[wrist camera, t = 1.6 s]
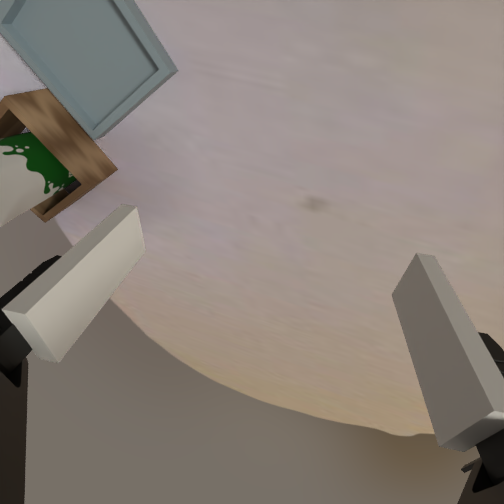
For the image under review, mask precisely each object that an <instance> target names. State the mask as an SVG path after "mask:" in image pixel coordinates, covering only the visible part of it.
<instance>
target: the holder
mask: <svg viewBox="0 0 504 504" xmlns="http://www.w3.org/2000/svg"><path fill="white" fill-rule="evenodd" d="M25 127H27V128H28V129H29V130H30V131H31V132H32V133H33V134H34V135H35V136H36V137H37V138H38V139H39V140H40V142H41V143H42V144H43V145H44V146H45V147H46V148H47V149H48V150H49V151H50V152H51V153H52V154H53V155H54V156H55V157H56V158H57V159H58V160H59V161H60V162H61V163H62V164H63V165H64V166H65V167H66V168H67V169H68V171H69V172H70V173H71V174H72V175H73V176H74V177H75V178H76V179H77V180H78V181H79V182H80V183H81V184H82V185H81V186H79V187H78V188H77V189H76V190H74V191H73V192H72V193H71V194H69V193H68V192H67V191H66V190H65V189H62V190H61V191H59V192H58V193H56V194H54V195H53V196H51V197H49V198H48V199H46V200H44V201H43V202H41V203H39V204H38V205H36V206H34V207H33V208H31V209H30V210H31V211H32V212H34V213H35V214H36V215H37V216H38V217H39V218H40V219H41V220H42V221H44V222H47V221H48V220H50V219H51V218H53V217H54V216H56V215H57V214H58V213H60V212H61V211H63V210H64V209H66V208H67V207H69V206H70V205H72V204H73V203H74V202H76V201H77V200H78V199H80V198H81V197H82V196H84V195H85V194H86V193H88V192H89V191H90V190H92V189H93V188H94V187H95V186H97V185H98V184H99V183H101V182H102V181H103V180H105V179H106V178H107V177H109V176H110V175H111V174H113V173H114V172H115V171H117V170H118V169H117V168H116V167H115V165H114V164H113V163H112V162H111V161H110V160H109V158H108V157H107V156H106V155H105V154H104V153H103V152H102V150H101V149H100V148H99V147H98V146H97V145H96V144H95V142H94V141H93V140H92V139H91V138H90V137H89V135H88V134H87V133H86V132H85V131H84V130H83V129H82V127H81V126H80V125H79V124H78V123H77V122H76V121H75V119H74V118H73V117H72V116H71V115H70V114H69V112H68V111H67V110H66V109H65V108H64V107H63V106H62V104H61V103H60V102H59V101H58V100H57V99H56V97H55V96H54V95H53V94H52V93H51V92H50V91H49V89H48V88H47V89H41V90H36V91H30V92H25V93H19V94H14V95H8V96H4V98H3V99H2V100H1V102H0V139H2V138H6V137H9V136H13V135H17V134H20V133H21V132H22V131H23V130H24V128H25Z"/></svg>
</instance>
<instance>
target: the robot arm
mask: <svg viewBox="0 0 504 504" xmlns="http://www.w3.org/2000/svg"><path fill="white" fill-rule="evenodd" d="M145 252H146V249H145V244H144V239H143V234H142V229H141V224H140V220H139V215H138V210H137V207H136V206H130V205H124V204H122V205H120V206H119V207H118V208H117V209H116V210H115V211H114V212H112V213H111V214H110V215H109V216H108V217H107V218H106V219H104V220H103V221H102V222H101V223H100V224H99V225H98V226H96V227H95V228H94V229H93V230H92V231H91V232H90V233H88V234H87V235H86V236H85V237H84V238H83V239H82V240H80V241H79V242H78V243H77V244H76V245H75V246H74V247H72V248H71V249H70V250H69V251H68V252H67V253H66V254H64V255H63V256H58V255H57V256H55V257H53V258H51V259H49V260H47V261H45V262H43V263H42V264H41V265H39V266H38V267H37V268H36V269H34V270H33V271H32V273H31V274H28V275H27V276H26V277H25V278H24V279H23V281H20V282H19V283H18V284H17V285H15V286H14V287H13V288H12V289H11V290H10V291H8V292H7V293H6V294H4V295H3V296H2V297H1V298H0V504H24V495H25V459H26V458H25V456H26V424H27V387H28V361H27V358H26V356H27V355H28V354H29V353H30V352H31V350H33V351H34V353H35V354H36V355H37V357H38V358H39V359H43V360H47V361H52V362H56V363H59V362H60V361H61V359H62V358H63V357H64V356H65V354H66V353H67V352H68V350H69V349H70V348H71V347H72V345H73V344H74V343H75V341H76V340H77V339H78V338H79V336H80V335H81V333H83V331H84V330H85V328H86V327H87V326H88V325H89V323H90V322H91V321H92V320H93V318H94V317H95V316H96V314H97V313H98V312H99V310H100V309H101V308H102V307H103V305H104V304H105V303H106V302H107V300H108V299H109V298H110V297H111V295H112V294H113V293H114V291H115V290H116V289H117V288H118V286H119V285H120V284H121V282H122V281H123V280H124V279H125V277H126V276H127V275H128V273H129V272H130V271H131V270H132V268H133V267H134V266H135V265H136V263H137V262H138V261H139V259H140V258H141V257H142V256H143V254H144V253H145ZM392 298H393V301H394V304H395V307H396V310H397V314H398V317H399V320H400V323H401V326H402V330H403V333H404V336H405V339H406V342H407V346H408V349H409V352H410V355H411V358H412V362H413V365H414V368H415V371H416V374H417V377H418V381H419V384H420V387H421V390H422V393H423V397H424V400H425V403H426V406H427V409H428V413H429V416H430V419H431V422H432V425H433V429H434V432H435V435H436V438H437V441H438V445H439V447H444V448H448V449H453V450H458V451H462V452H465V451H467V450H468V449H470V448H472V447H474V446H477V449H478V452H479V454H480V458H478V459H476V460H474V461H472V462H470V463H468V464H466V465H465V466H463V468H462V469H461V470H462V471H463V472H464V473H465V472H467V471H469V470H471V469H472V471H471V473H470V475H469V478H468V480H467V482H466V485H465V487H464V489H463V492H462V494H461V497H460V499H459V501H458V504H504V351H503V349H502V348H501V347H500V346H499V345H498V344H497V343H496V342H495V341H494V340H493V339H492V338H491V337H490V336H489V335H488V334H485V333H480V332H477V330H476V328H475V326H474V325H473V323H472V321H471V319H470V318H469V316H468V314H467V312H466V311H465V309H464V307H463V305H462V304H461V302H460V300H459V298H458V296H457V295H456V293H455V291H454V289H453V288H452V286H451V284H450V282H449V281H448V279H447V277H446V275H445V274H444V272H443V270H442V268H441V266H440V265H439V263H438V261H437V259H436V258H435V256H433V255H427V254H421V253H416V255H415V256H414V258H413V260H412V261H411V263H410V265H409V266H408V268H407V270H406V271H405V273H404V275H403V276H402V278H401V280H400V282H399V283H398V285H397V287H396V288H395V290H394V292H393V293H392Z"/></svg>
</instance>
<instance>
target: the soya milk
mask: <svg viewBox="0 0 504 504" xmlns="http://www.w3.org/2000/svg"><path fill="white" fill-rule="evenodd" d="M76 180H77V179H76V178H75V177H74V176H73V175H72V174H71V173H70V172H69V171H68V169H67V168H66V167H65V166H64V165H63V164H62V163H61V162H60V161H59V160H58V159H57V158H56V157H55V156H54V155H53V154H52V153H51V152H50V151H49V150H48V149H47V148H46V147H45V146H44V145H43V144H42V143H41V142H40V140H39V139H38V138H37V137H36V136H35V135H34V134H33V133H32V132H28V133H22V134H17V135H13V136H9V137H6V138H2V139H0V228H1V227H2V226H3V225H5V224H6V223H8V222H10V221H11V220H12V219H14V218H15V217H17V216H19V215H21V214H22V213H24V212H26V211H28V210H29V209H31V208H33V207H34V206H36V205H38V204H39V203H41V202H43V201H44V200H46V199H48V198H49V197H51V196H53V195H54V194H56V193H58V192H59V191H61V190H62V189H64V188H65V187H67V186H69V185H70V184H72V183H73V182H75V181H76Z"/></svg>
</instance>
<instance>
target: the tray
mask: <svg viewBox="0 0 504 504" xmlns="http://www.w3.org/2000/svg"><path fill="white" fill-rule="evenodd" d="M0 33H1V34H2V35H3V36H4V38H5V39H6V40H7V41H8V42H9V43H10V45H11V46H12V47H13V48H14V49H15V50H16V51H17V53H18V54H19V55H20V56H21V57H22V58H23V60H24V61H25V62H26V63H27V64H28V65H29V66H30V68H31V69H32V70H33V71H34V72H35V73H36V75H37V76H38V77H39V78H40V79H41V80H42V81H43V83H44V84H45V85H46V86H47V87H48V88H49V90H50V91H51V92H52V93H53V94H54V95H55V96H56V98H57V99H58V100H59V101H60V102H61V103H62V104H63V106H64V107H65V108H66V109H67V110H68V111H69V113H70V114H71V115H72V116H73V117H74V118H75V119H76V121H77V122H78V123H79V124H80V125H81V126H82V128H83V129H84V130H85V131H86V132H87V133H88V134H89V136H90V137H91V138H92V139H93V140H96V139H99V138H101V137H103V136H105V135H106V134H107V133H108V132H109V131H110V130H111V129H113V128H114V127H115V126H116V125H117V124H118V123H119V122H121V121H122V120H123V119H124V118H125V117H126V116H127V115H129V114H130V113H131V112H132V111H133V110H134V109H135V108H136V107H138V106H139V105H140V104H141V103H142V102H143V101H144V100H146V99H147V98H148V97H149V96H150V95H151V94H152V93H154V92H155V91H156V90H157V89H158V88H159V87H160V86H162V85H163V84H164V83H165V82H166V81H167V80H168V79H169V78H171V77H172V76H173V75H174V74H175V73H176V72H177V71H178V69H177V68H176V66H175V65H174V63H173V61H172V60H171V58H170V57H169V55H168V54H167V52H166V50H165V49H164V47H163V46H162V44H161V43H160V41H159V39H158V38H157V36H156V35H155V33H154V32H153V30H152V28H151V27H150V25H149V24H148V22H147V21H146V19H145V17H144V16H143V14H142V13H141V11H140V9H139V8H138V6H137V5H136V3H135V2H134V0H1V1H0Z"/></svg>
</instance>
